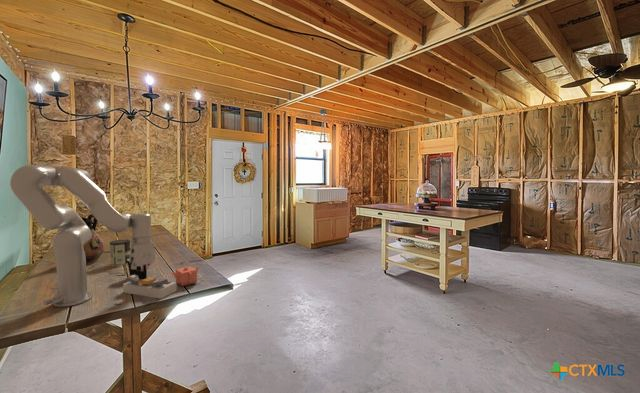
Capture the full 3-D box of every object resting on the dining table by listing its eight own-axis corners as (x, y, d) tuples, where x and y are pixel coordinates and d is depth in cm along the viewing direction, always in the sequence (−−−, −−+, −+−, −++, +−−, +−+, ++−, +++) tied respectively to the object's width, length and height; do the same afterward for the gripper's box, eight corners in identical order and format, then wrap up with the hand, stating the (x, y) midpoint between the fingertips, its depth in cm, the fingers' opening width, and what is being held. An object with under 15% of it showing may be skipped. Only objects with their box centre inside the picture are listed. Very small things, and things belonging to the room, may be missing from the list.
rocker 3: (160, 285, 125) (160, 281, 125) (150, 286, 127) (149, 282, 127) (168, 281, 129) (167, 278, 129) (157, 283, 130) (157, 279, 130)
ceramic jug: (91, 265, 169) (89, 216, 167) (66, 265, 169) (63, 216, 167) (112, 257, 186) (110, 212, 183) (89, 257, 186) (87, 212, 184)
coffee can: (126, 260, 180) (125, 238, 179) (134, 263, 174) (133, 240, 173) (107, 264, 171) (106, 241, 170) (115, 267, 166) (114, 244, 165)
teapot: (166, 284, 141) (166, 267, 140) (196, 276, 152) (196, 261, 151) (175, 290, 133) (174, 273, 132) (206, 282, 144) (205, 266, 143)
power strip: (161, 298, 124) (160, 288, 124) (115, 291, 132) (114, 281, 131) (176, 290, 133) (176, 281, 132) (132, 284, 140) (132, 275, 140)
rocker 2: (148, 284, 127) (148, 280, 127) (138, 283, 129) (137, 280, 128) (155, 281, 131) (155, 277, 131) (145, 280, 132) (145, 277, 132)
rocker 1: (136, 284, 129) (136, 281, 129) (126, 280, 131) (126, 276, 130) (143, 281, 133) (144, 278, 133) (134, 277, 134) (134, 273, 134)
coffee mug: (137, 280, 145) (136, 261, 145) (123, 279, 147) (122, 260, 146) (155, 273, 157) (154, 255, 156) (141, 271, 158) (141, 254, 158)
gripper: (133, 244, 121) (134, 285, 122) (161, 237, 136) (161, 274, 137) (120, 242, 123) (121, 283, 124) (149, 236, 138) (149, 272, 139)
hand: (142, 278), depth 131 cm, fingers closed
